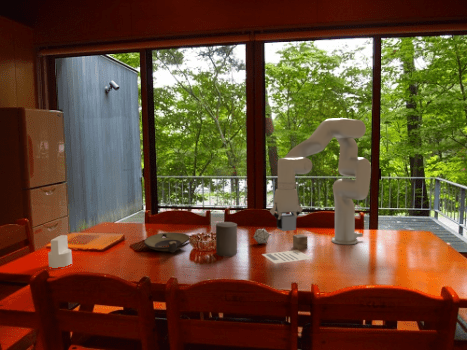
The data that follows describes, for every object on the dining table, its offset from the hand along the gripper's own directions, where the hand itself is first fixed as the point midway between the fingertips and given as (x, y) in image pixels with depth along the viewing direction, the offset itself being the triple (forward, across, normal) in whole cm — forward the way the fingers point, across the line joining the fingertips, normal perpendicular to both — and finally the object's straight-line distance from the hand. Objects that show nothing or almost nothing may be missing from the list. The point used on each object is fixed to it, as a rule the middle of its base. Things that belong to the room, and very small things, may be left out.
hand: (286, 226), depth 167 cm
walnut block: (+13, -12, -10) cm, 21 cm away
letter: (+13, 0, 0) cm, 13 cm away
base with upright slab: (+14, +94, -25) cm, 98 cm away
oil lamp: (+14, +48, -31) cm, 59 cm away
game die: (+14, +2, -24) cm, 28 cm away
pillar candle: (+14, +23, -15) cm, 31 cm away
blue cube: (+1, 0, 0) cm, 1 cm away
